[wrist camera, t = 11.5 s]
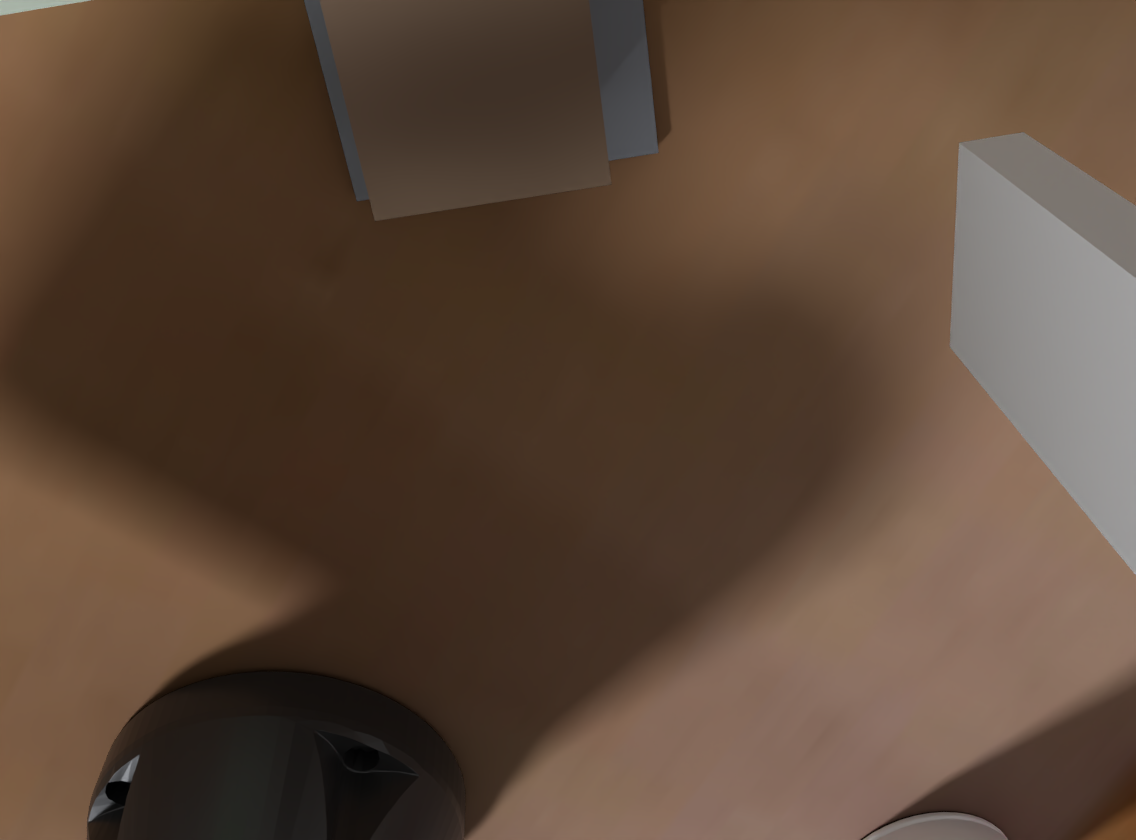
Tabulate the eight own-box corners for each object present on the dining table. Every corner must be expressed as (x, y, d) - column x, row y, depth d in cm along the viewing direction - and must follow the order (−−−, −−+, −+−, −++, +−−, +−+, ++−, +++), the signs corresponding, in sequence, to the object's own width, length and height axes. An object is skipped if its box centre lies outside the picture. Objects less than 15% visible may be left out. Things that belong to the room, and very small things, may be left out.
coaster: (656, 147, 32) (658, 153, 31) (358, 195, 32) (356, 201, 31) (620, -200, 27) (622, -199, 26) (271, -140, 27) (267, -139, 27)
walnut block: (589, 102, 30) (611, 184, 24) (399, 132, 30) (374, 220, 24) (561, -110, 27) (579, -77, 21) (352, -77, 28) (311, -34, 22)
